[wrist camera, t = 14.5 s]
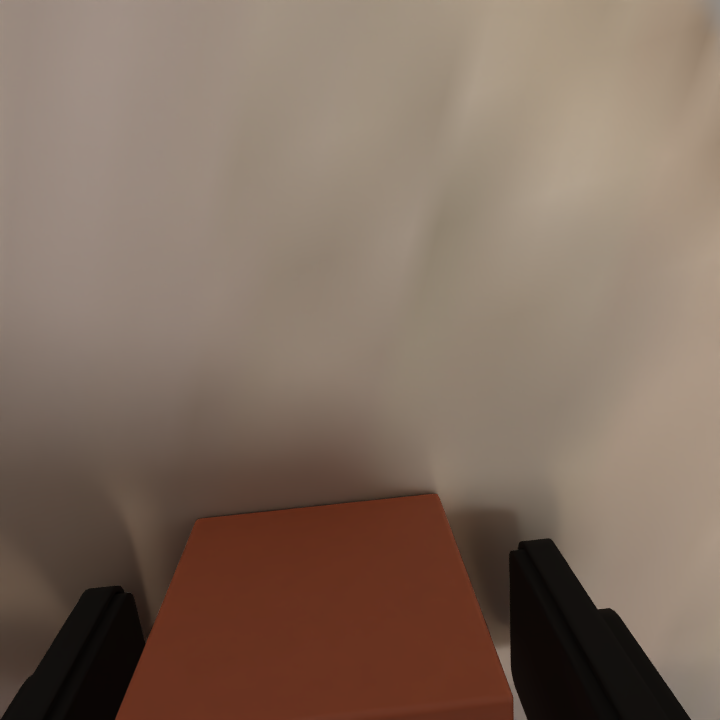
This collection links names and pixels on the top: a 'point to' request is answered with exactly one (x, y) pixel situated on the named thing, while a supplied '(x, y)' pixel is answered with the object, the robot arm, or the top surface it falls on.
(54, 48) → the top surface
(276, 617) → the terracotta block
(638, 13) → the top surface
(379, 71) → the top surface
